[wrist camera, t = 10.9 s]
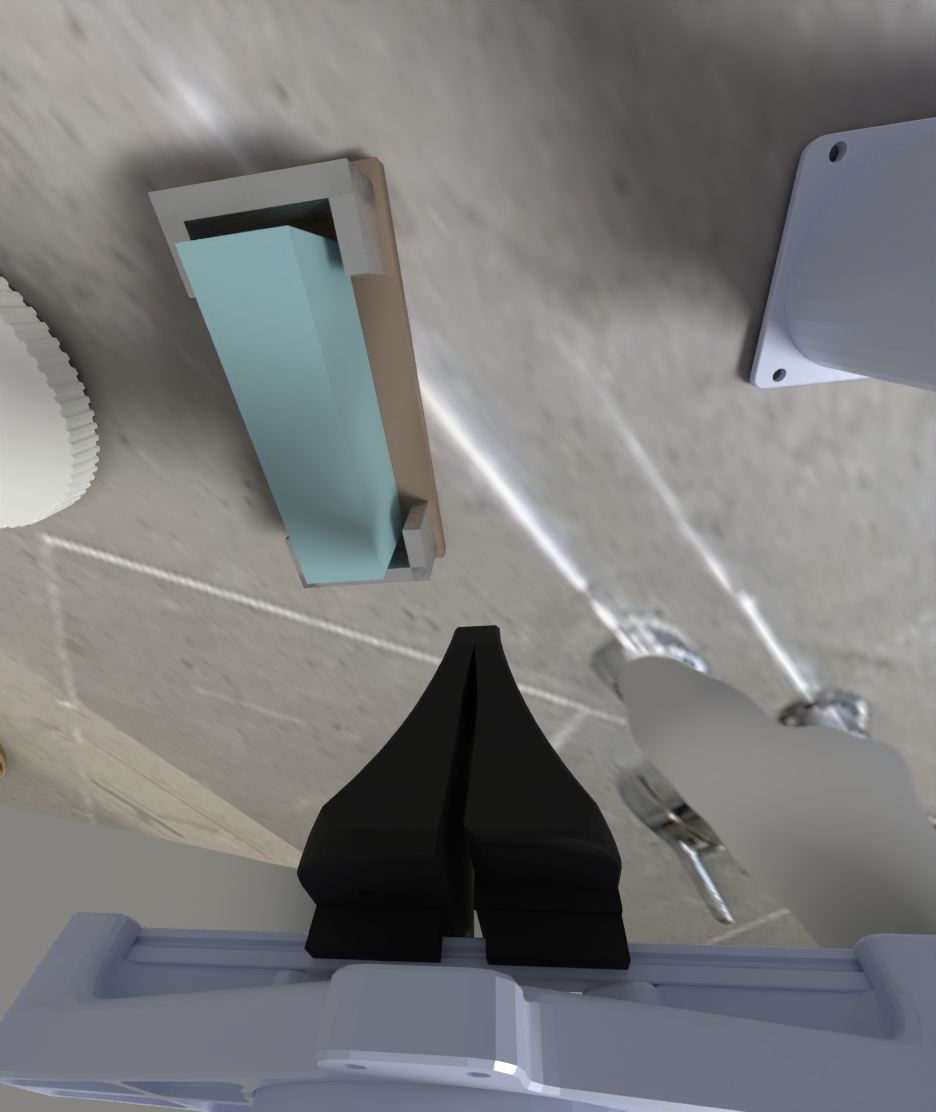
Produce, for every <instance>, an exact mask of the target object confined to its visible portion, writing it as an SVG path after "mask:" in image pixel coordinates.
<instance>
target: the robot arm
mask: <svg viewBox="0 0 936 1112" xmlns="http://www.w3.org/2000/svg"><path fill="white" fill-rule="evenodd" d="M834 145H837V147H838V148H839V154H838V156H837V158H836V160H835V161H834V162H831V161H830V159H829V153H830V151H831V149H832V147H833V146H834ZM778 369H781V374H780V375H779V377H778V378H777V379H775V380H773V374H774V372H775V371H777V370H778ZM864 378H876V379H880V380H885V381H889V382H894V383H898V384H903V385H907V386H912V387H916V388H921V389H925V390H930V391H934V392H936V117H933V118H926V119H920V120H914V121H908V122H901V123H895V124H889V125H882V126H876V127H870V128H863V129H857V130H851V131H845V132H838V133H832V134H826V135H823V136H821V137H818V138H816V139H814V140H813V141H812V142H810V143H809V144H808V145H807V146H806V148H805V149H804V151H803V152H802V155H801V157H800V160H799V164H798V169H797V173H796V178H795V182H794V186H793V191H792V195H791V200H790V204H789V208H788V213H787V217H786V221H785V226H784V230H783V235H782V239H781V243H780V248H779V252H778V256H777V261H776V265H775V270H774V274H773V278H772V283H771V287H770V291H769V296H768V300H767V305H766V309H765V313H764V318H763V322H762V327H761V331H760V335H759V340H758V344H757V348H756V353H755V357H754V362H753V366H752V370H751V375H750V382H751V384H752V385H753V386H754V387H757V388H761V389H765V388H775V387H785V386H795V385H805V384H815V383H825V382H834V381H844V380H854V379H864ZM621 869H622V865H621V858H620V855H619V852H618V849H617V846H616V843H615V840H614V838H613V836H612V833H611V831H610V829H609V827H608V825H607V823H606V821H605V819H604V817H603V815H602V813H601V811H600V809H599V807H598V805H597V804H596V802H595V801H594V800H593V799H592V798H591V797H590V795H589V794H588V793H587V792H586V791H585V790H584V788H583V787H582V786H581V785H580V783H579V782H578V781H577V780H576V779H575V777H574V776H573V775H572V773H571V772H570V771H569V769H568V768H567V767H566V766H565V764H564V763H563V762H562V760H561V759H560V757H559V756H558V754H557V753H556V752H555V750H554V749H553V747H552V746H551V744H550V743H549V742H548V740H547V739H546V737H545V736H544V734H543V732H542V731H541V729H540V728H539V726H538V724H537V723H536V721H535V719H534V718H533V716H532V714H531V712H530V711H529V709H528V707H527V705H526V703H525V701H524V699H523V697H522V695H521V693H520V691H519V689H518V687H517V685H516V682H515V680H514V678H513V676H512V673H511V671H510V668H509V666H508V663H507V660H506V657H505V654H504V651H503V648H502V644H501V639H500V629H499V627H497V626H496V625H492V626H472V627H458V628H457V629H456V630H455V632H454V635H453V638H452V640H451V643H450V645H449V647H448V649H447V651H446V654H445V656H444V658H443V660H442V662H441V664H440V665H439V667H438V669H437V671H436V673H435V675H434V677H433V678H432V680H431V682H430V683H429V685H428V687H427V688H426V690H425V692H424V693H423V695H422V696H421V698H420V700H419V701H418V703H417V704H416V706H415V707H414V709H413V710H412V711H411V713H410V714H409V716H408V717H407V718H406V720H405V721H404V722H403V724H402V725H401V726H400V727H399V729H398V730H397V731H396V732H395V734H394V735H393V736H392V737H391V739H390V740H389V741H388V742H387V743H386V745H385V746H384V747H383V748H382V749H381V750H380V751H379V752H378V754H377V755H376V756H375V757H374V758H373V759H372V760H371V761H370V762H369V763H368V764H367V765H366V766H365V767H364V768H363V769H362V770H361V771H360V772H359V773H358V774H357V775H356V776H355V777H354V778H353V779H352V780H351V781H350V782H349V783H348V784H347V785H346V786H345V787H344V788H343V789H341V790H340V791H339V792H338V793H337V794H336V795H335V796H334V797H333V798H332V799H330V800H329V801H328V802H327V803H326V804H325V805H324V806H323V807H322V808H321V810H320V813H319V815H318V817H317V819H316V821H315V823H314V825H313V828H312V830H311V832H310V834H309V837H308V840H307V843H306V846H305V849H304V851H303V854H302V857H301V860H300V863H299V866H298V871H297V876H298V878H299V880H300V883H301V884H302V886H303V888H304V889H305V890H306V891H307V893H308V894H309V895H310V897H311V898H312V899H313V901H314V902H315V904H316V905H317V906H316V910H315V913H314V917H313V920H312V923H311V927H310V930H309V933H303V932H302V933H301V932H271V931H237V930H205V929H172V928H141V926H140V924H139V923H138V922H137V921H135V920H134V919H132V918H130V917H128V916H126V915H122V914H116V913H91V912H90V913H89V912H78V913H76V914H74V915H73V916H72V917H71V919H70V920H69V922H68V923H67V924H66V926H65V927H64V929H63V930H62V932H61V933H60V935H59V936H58V938H57V939H56V941H55V942H54V944H53V945H52V947H51V948H50V950H49V951H48V952H47V954H46V956H45V957H44V958H43V960H42V961H41V963H40V964H39V966H38V967H37V969H36V970H35V972H34V973H33V975H32V976H31V978H30V979H29V980H28V982H27V983H26V985H25V987H24V988H23V989H22V991H21V992H20V994H19V995H18V997H17V998H16V1000H15V1001H14V1003H13V1004H12V1006H11V1007H10V1008H9V1010H8V1011H7V1013H6V1014H5V1016H4V1017H3V1019H2V1021H1V1022H0V1083H2V1084H6V1085H9V1086H13V1087H18V1088H21V1089H25V1090H30V1091H33V1092H37V1093H41V1094H45V1095H49V1096H59V1097H71V1098H83V1099H93V1100H103V1101H114V1102H124V1103H134V1104H142V1105H151V1106H160V1107H168V1108H177V1109H186V1110H195V1111H203V1112H936V935H912V934H874V935H870V936H866V937H864V938H862V939H860V940H859V941H858V942H857V944H856V945H855V947H854V949H827V948H795V947H762V946H729V945H696V944H664V943H631V942H627V939H626V934H625V929H624V924H623V919H622V904H621V899H620V894H619V889H618V886H619V880H620V875H621ZM474 910H476V911H477V915H478V919H479V923H480V927H481V931H482V935H483V938H474ZM569 992H583V993H582V994H575V993H569Z"/></svg>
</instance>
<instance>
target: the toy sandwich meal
mask: <svg viewBox="0 0 936 1112" xmlns="http://www.w3.org/2000/svg"><path fill="white" fill-rule="evenodd" d="M5 771H6V754H5V751H4V749H3V747H2V746H1V744H0V779H1V778H2V777H3V776H4V774H5Z"/></svg>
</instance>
